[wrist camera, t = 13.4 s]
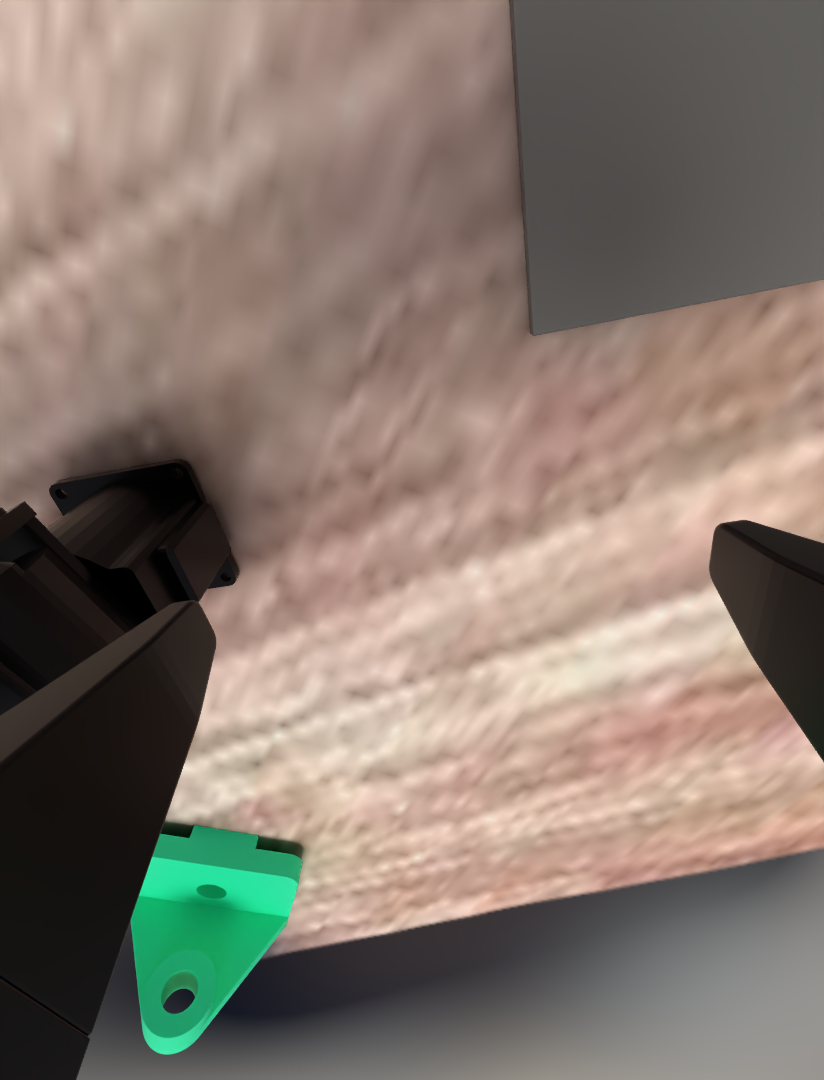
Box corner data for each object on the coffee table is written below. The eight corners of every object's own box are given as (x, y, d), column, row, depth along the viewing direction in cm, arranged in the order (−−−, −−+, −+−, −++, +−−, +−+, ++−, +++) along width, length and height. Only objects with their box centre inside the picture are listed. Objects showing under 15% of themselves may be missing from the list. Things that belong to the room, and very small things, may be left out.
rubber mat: (530, 333, 19) (533, 335, 18) (495, -229, 12) (498, -251, 12) (973, 246, 17) (990, 247, 16) (1210, -461, 10) (1251, -497, 10)
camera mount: (307, 840, 37) (271, 1025, 29) (293, 888, 41) (258, 1064, 32) (143, 814, 36) (53, 1000, 27) (145, 866, 40) (66, 1043, 31)
